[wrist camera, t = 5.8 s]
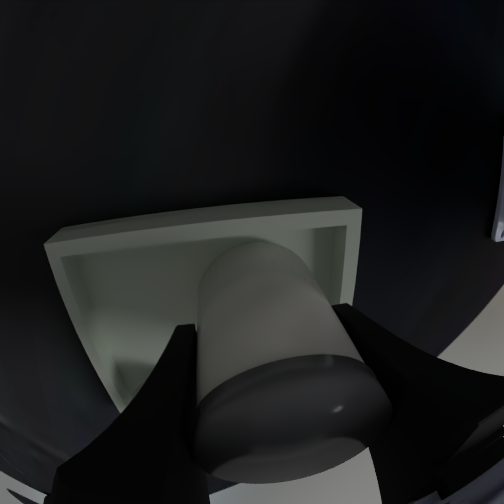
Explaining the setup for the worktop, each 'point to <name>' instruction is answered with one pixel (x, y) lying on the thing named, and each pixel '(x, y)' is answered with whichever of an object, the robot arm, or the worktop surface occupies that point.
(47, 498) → the smart speaker
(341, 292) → the tray
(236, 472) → the cylinder
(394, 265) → the worktop surface
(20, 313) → the worktop surface
